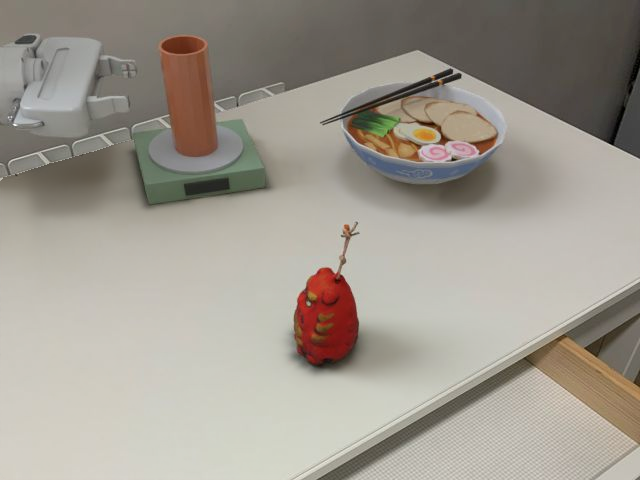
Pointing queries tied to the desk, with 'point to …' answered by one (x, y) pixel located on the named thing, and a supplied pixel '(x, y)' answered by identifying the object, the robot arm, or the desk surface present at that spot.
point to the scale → (198, 165)
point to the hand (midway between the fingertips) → (132, 85)
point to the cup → (189, 94)
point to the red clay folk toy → (327, 314)
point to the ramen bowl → (422, 129)
